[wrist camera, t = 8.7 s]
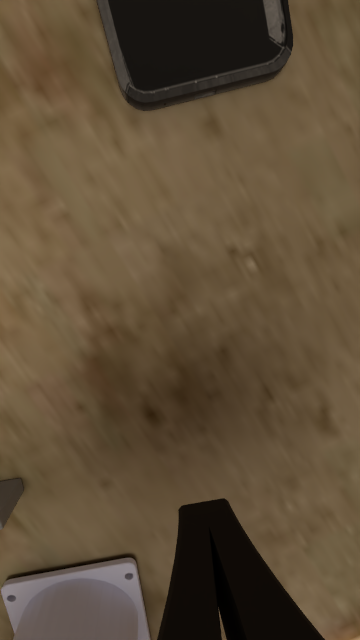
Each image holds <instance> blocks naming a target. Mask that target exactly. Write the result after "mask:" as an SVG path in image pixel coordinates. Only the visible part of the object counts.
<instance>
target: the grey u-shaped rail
mask: <svg viewBox="0 0 360 640" xmlns="http://www.w3.org/2000/svg"><path fill="white" fill-rule="evenodd" d="M23 491H24V488H23V485H22V481H21V478H18V479H12V480H6V481H0V529H3V528H4V526H5V524H6V522H7V520H8V518H9V517H10V515H11V513H12V511H13V509H14V507H15V506H16V504H17V502H18V500H19V498H20V496H21V495H22V493H23Z"/></svg>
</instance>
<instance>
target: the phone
mask: <svg viewBox="0 0 360 640" xmlns="http://www.w3.org/2000/svg"><path fill="white" fill-rule="evenodd" d="M97 4H98V8H99V11H100V15H101V19H102V23H103V27H104V30H105V34H106V38H107V42H108V45H109V49H110V53H111V57H112V60H113V64H114V68H115V72H116V75H117V79H118V83H119V87H120V89H121V92H122V94H123V97H124V98H125V99H126V100H127V102H128V103H129V104H130V105H132V106H133V107H135V108H136V109H140V110H143V111H149V110H155V109H159V108H163V107H167V106H171V105H175V104H179V103H183V102H187V101H191V100H195V99H199V98H203V97H207V96H211V95H215V94H219V93H223V92H227V91H231V90H235V89H239V88H243V87H247V86H251V85H255V84H259V83H263V82H266V81H268V80H271V79H273V78H274V77H275V76H276V75H277V74H278V73H279V72H280V71H281V69H282V68H283V66H284V65H285V64H286V62H287V60H288V58H289V57H290V55H291V51H292V47H293V33H292V26H291V19H290V12H289V5H288V0H97ZM208 91H209V92H208ZM204 92H205V93H204ZM200 93H201V94H200ZM196 94H197V95H196ZM164 104H166V105H164Z"/></svg>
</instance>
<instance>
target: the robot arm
mask: <svg viewBox="0 0 360 640" xmlns="http://www.w3.org/2000/svg"><path fill="white" fill-rule="evenodd" d="M1 594H2V597H3V600H4V603H5V606H6V609H7V612H8V615H9V619H10V622H11V625H12V628H13V631H14V634H15V635H14V638H13V640H151V638H150V633H149V628H148V622H147V617H146V612H145V606H144V601H143V596H142V590H141V585H140V580H139V575H138V569H137V564H136V561H135V560H134V559H133V558H122V559H117V560H111V561H106V562H100V563H95V564H90V565H84V566H79V567H73V568H68V569H62V570H57V571H51V572H46V573H40V574H35V575H29V576H24V577H19V578H13V579H9V580H7V581H5V582H4V585H3V587H2V589H1ZM218 607H219V610H218ZM219 611H220V615H221V619H222V623H223V627H224V631H225V635H226V639H227V640H325V639H324V638H323V637H322V636H321V634H320V633H319V632H318V631H317V630H316V628H315V627H314V626H313V625H312V623H311V622H310V621H309V620H308V619H307V617H306V616H305V615H304V614H303V612H302V611H301V610H300V608H299V607H298V606H297V605H296V603H295V602H294V601H293V599H292V598H291V597H290V596H289V594H288V593H287V592H286V590H285V589H284V588H283V586H282V585H281V584H280V582H279V581H278V580H277V578H276V577H275V575H274V574H273V573H272V571H271V570H270V568H269V567H268V565H267V564H266V563H265V561H264V560H263V558H262V557H261V555H260V554H259V553H258V551H257V550H256V548H255V547H254V545H253V544H252V542H251V540H250V539H249V537H248V536H247V534H246V533H245V531H244V529H243V528H242V526H241V524H240V523H239V521H238V519H237V518H236V516H235V514H234V512H233V510H232V508H231V506H230V504H229V502H228V501H227V500H226V499H224V498H223V499H217V500H211V501H206V502H200V503H194V504H188V505H183V506H181V507H180V509H179V525H178V537H177V545H176V552H175V559H174V564H173V570H172V575H171V581H170V587H169V591H168V596H167V601H166V605H165V609H164V613H163V618H162V622H161V626H160V630H159V635H158V639H157V640H222V637H221V628H220V619H219Z"/></svg>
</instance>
